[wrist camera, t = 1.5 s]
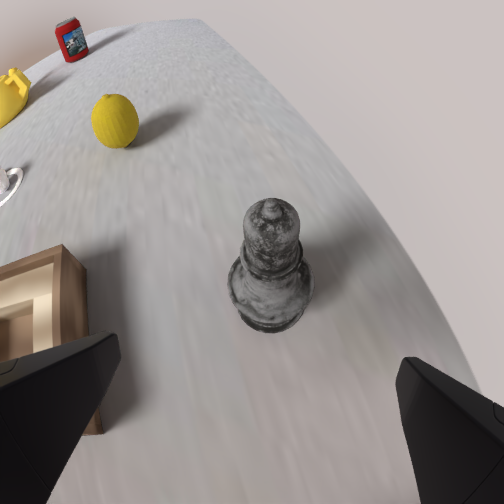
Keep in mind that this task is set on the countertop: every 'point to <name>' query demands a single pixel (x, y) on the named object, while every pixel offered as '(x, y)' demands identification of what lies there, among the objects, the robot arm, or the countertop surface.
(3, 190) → the teacup and saucer
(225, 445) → the countertop surface
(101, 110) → the lemon
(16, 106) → the teapot
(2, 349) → the walnut box
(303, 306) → the grey stone tall piece
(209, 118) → the countertop surface
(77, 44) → the beverage can
